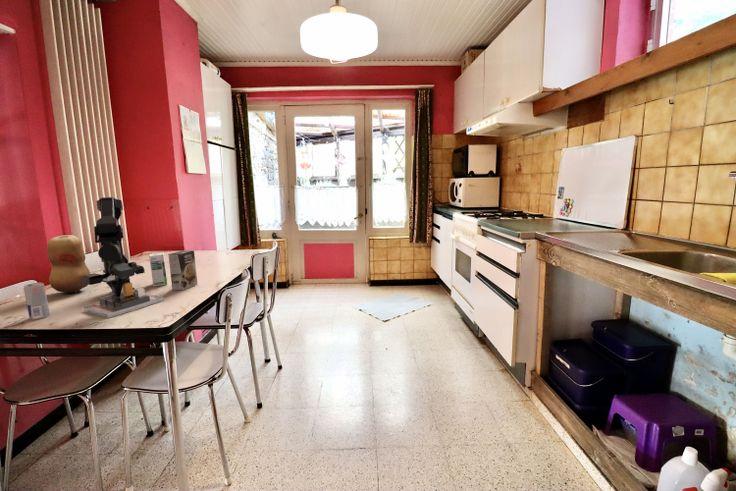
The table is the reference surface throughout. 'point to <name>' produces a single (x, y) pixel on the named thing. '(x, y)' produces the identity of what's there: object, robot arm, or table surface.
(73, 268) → the butternut squash
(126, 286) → the orange rectangular block
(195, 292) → the table surface
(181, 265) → the coffee box
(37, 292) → the white carton
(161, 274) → the syrup box
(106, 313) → the panel
